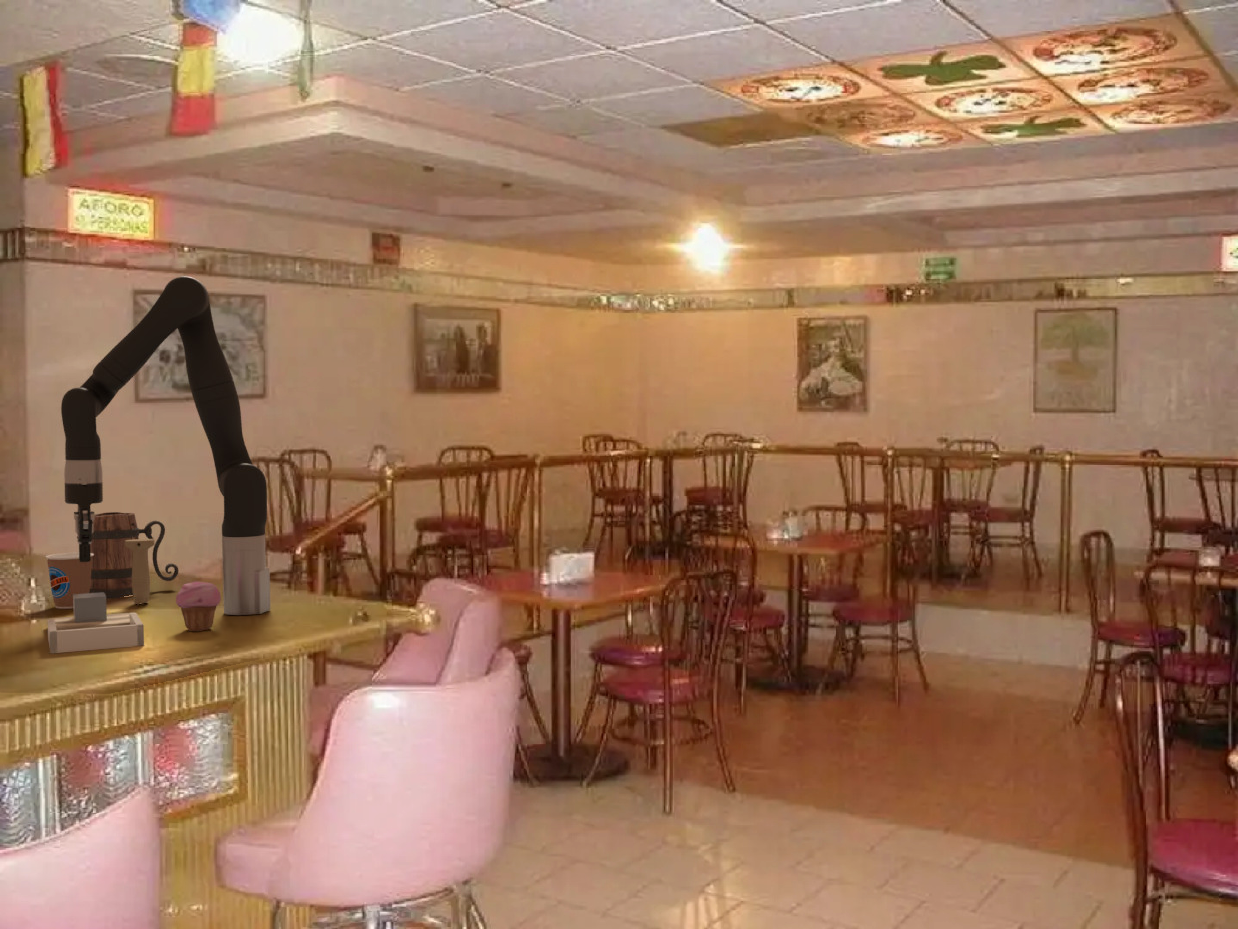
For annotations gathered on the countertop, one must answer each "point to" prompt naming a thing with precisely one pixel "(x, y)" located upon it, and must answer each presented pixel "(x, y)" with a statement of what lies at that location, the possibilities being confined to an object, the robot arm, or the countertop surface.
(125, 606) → the countertop surface
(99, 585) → the tankard
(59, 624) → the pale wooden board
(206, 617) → the cupcake
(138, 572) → the handle
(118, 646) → the box
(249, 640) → the countertop surface
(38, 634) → the countertop surface
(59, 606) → the coffee cup
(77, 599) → the matte grey cube
